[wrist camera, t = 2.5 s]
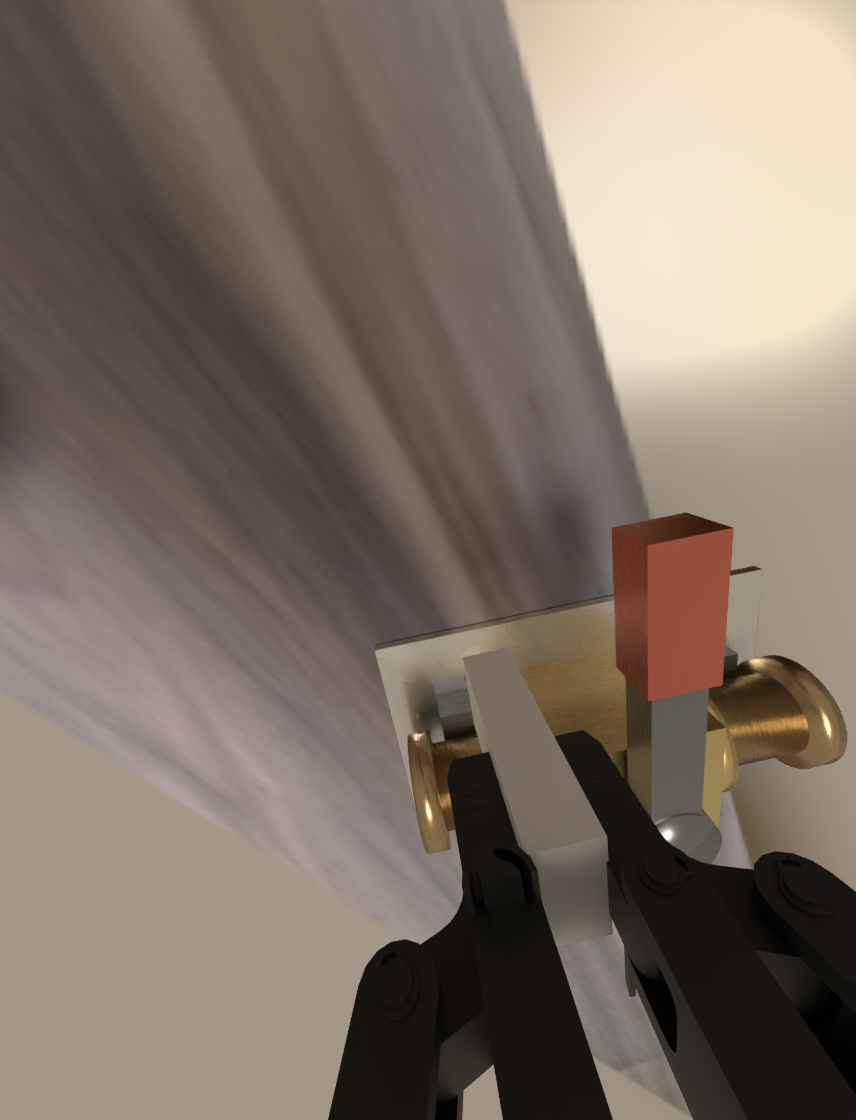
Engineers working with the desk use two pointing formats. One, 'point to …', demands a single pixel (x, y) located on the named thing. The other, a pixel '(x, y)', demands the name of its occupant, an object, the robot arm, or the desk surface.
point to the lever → (671, 664)
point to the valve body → (600, 698)
